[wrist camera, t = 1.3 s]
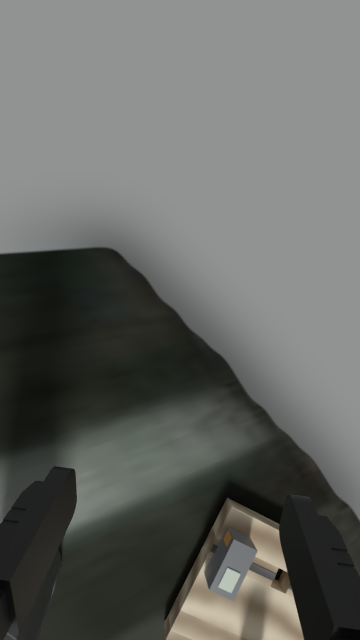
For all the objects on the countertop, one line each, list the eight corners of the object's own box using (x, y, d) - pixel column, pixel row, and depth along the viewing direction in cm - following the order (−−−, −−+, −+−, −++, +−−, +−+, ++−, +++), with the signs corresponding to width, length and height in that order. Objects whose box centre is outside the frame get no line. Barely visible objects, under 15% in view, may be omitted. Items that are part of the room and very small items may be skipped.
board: (282, 673, 49) (291, 692, 46) (164, 622, 46) (166, 640, 44) (336, 553, 52) (347, 564, 49) (227, 497, 49) (232, 507, 46)
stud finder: (227, 583, 46) (234, 602, 42) (203, 573, 45) (208, 591, 42) (250, 536, 46) (258, 551, 43) (227, 525, 46) (233, 539, 43)
